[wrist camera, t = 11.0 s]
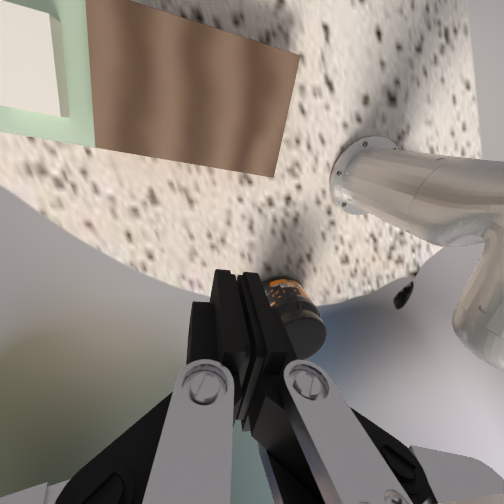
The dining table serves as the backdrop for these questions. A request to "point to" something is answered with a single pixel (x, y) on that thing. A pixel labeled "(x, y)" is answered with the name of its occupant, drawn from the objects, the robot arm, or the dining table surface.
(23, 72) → the white rectangular block
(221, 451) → the robot arm
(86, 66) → the mat
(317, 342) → the supplement container
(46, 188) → the dining table surface
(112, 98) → the deck
